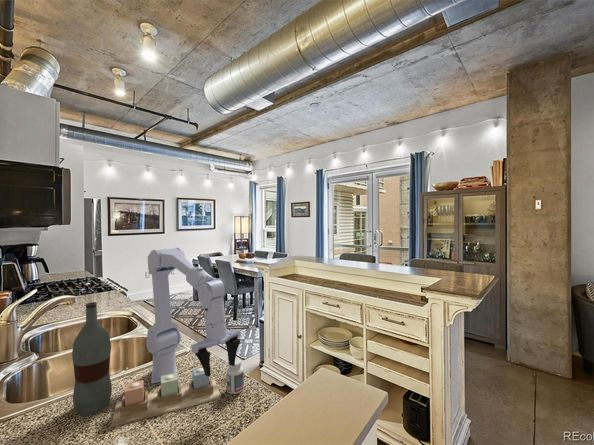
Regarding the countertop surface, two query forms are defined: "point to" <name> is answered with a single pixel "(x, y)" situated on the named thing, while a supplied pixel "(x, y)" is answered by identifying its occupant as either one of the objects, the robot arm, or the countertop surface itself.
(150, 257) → the robot arm
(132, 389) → the terracotta block
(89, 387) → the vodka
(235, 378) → the pill bottle
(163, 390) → the sage block
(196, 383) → the slate-blue block
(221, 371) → the countertop surface
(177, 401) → the birch board
